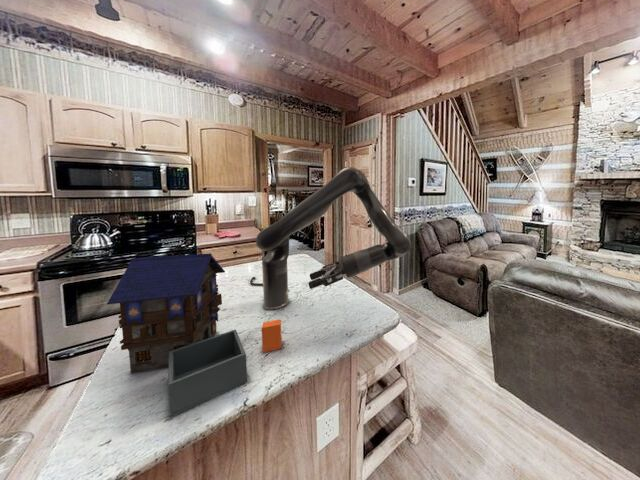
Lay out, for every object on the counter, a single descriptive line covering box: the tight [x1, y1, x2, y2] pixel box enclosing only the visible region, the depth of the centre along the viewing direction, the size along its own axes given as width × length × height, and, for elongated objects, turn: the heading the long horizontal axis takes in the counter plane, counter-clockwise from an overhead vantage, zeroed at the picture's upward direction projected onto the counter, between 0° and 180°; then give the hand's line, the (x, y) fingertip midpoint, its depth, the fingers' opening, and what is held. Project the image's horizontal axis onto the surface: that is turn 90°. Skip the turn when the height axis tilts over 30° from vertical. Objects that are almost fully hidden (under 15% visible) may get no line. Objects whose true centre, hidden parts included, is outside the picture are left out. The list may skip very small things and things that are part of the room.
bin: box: [167, 329, 248, 418], centre depth 66 cm, size 15×15×8 cm
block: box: [261, 318, 283, 354], centre depth 79 cm, size 3×5×8 cm, turn 113°
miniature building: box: [106, 252, 226, 374], centre depth 76 cm, size 19×21×30 cm
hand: (309, 281), depth 82 cm, fingers open, 8 cm apart
